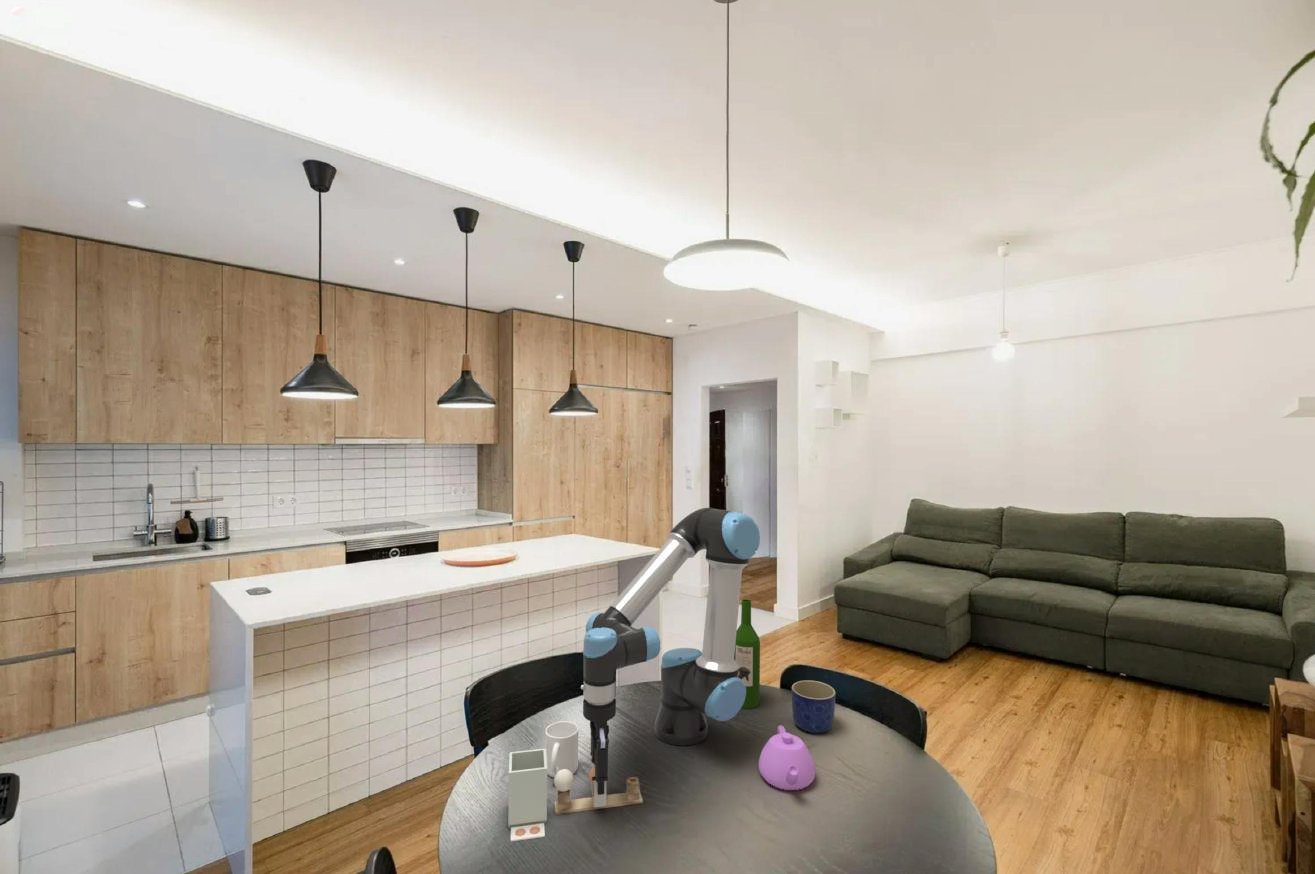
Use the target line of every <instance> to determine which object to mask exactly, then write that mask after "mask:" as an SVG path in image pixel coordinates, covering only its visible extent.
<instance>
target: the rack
mask: <svg viewBox="0 0 1315 874" xmlns="http://www.w3.org/2000/svg"><path fill="white" fill-rule="evenodd" d="M625 782H626V784H625V785H626V786H625V787H626V792H621V793H613V794H606V806H603V807H595V808H594V785H593V786H592V792H591V795H592V796H590V797H582V798H575V799H571V790H570V789H571V788H570V789H569V790H567V791H559V790H558V789H557V801H554V803H553V806H554V815H555V816H556V815H563V814H572V813H578V812H585V811H591V810H592V811H593V810H594V811H595V810H600V809H607V808H613V807H615V808H616V807H621V806H623V807H624V806H629V805H637V804H638V805H639V804H643V803H644V802H643V801H644V800H643V797H642V793H641V791H640V781H639V777H638V776H632V777H626V781H625Z"/></svg>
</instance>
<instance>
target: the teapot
mask: <svg viewBox="0 0 1315 874" xmlns="http://www.w3.org/2000/svg"><path fill="white" fill-rule="evenodd" d="M776 730H777V731H776V732H777V734H774V735H773V736H771V737H770V738H769V739H768V740H767V742H766V744H765V745H764V747H763V748H762V750H761V752H760V755H759V758H758V759H759V760H758V770H759V771H758V772H759V773H760V775H761V777H762V778H763V779H764V780H765V781H766V782H767V783H768V784H769V785H770V784H771V785H770V786H772V785H773V786H772V787H774V786H775V787H774V788H776V787H777V788H776V789H778V788H780V789H779V790H782V789H784V790H783V791H787V790H797V791H800V790H799V789H801V790H804V789H806V788H807V787H808V786H810V785H811V783H813V781H814V779H815V777H816V766H815V763H814V759H813V757H812V755H811V752H810V750H809V749H808V747H807V745H806V744H805V742H804V741H803V740H802V739H801V738H800V737H799V736H797V735H794V734H792V733H789V732H786V731H787V730H786V728H785V726H784V725H778V726H777V729H776ZM805 787H806V788H805ZM803 788H804V789H803Z"/></svg>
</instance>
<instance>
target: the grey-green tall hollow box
mask: <svg viewBox="0 0 1315 874" xmlns="http://www.w3.org/2000/svg"><path fill="white" fill-rule="evenodd" d="M508 755H509V757H508V758H509V759H508V796H507V797H508V798H507V799H508V803H507V804H508V806H507V807H508V811H507V812H508V813H507V814H508V815H507V818H508V822H507V824H508V826H507V828H508V829H511V828H512V827H519V826H526V825H533V824H541V823H544V824H546V823H548V822H547V821H548V774H547V757H546V748H536V749H530V750H529V749H528V750H527V749H526V750H519V751H512V752H509V754H508Z"/></svg>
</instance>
